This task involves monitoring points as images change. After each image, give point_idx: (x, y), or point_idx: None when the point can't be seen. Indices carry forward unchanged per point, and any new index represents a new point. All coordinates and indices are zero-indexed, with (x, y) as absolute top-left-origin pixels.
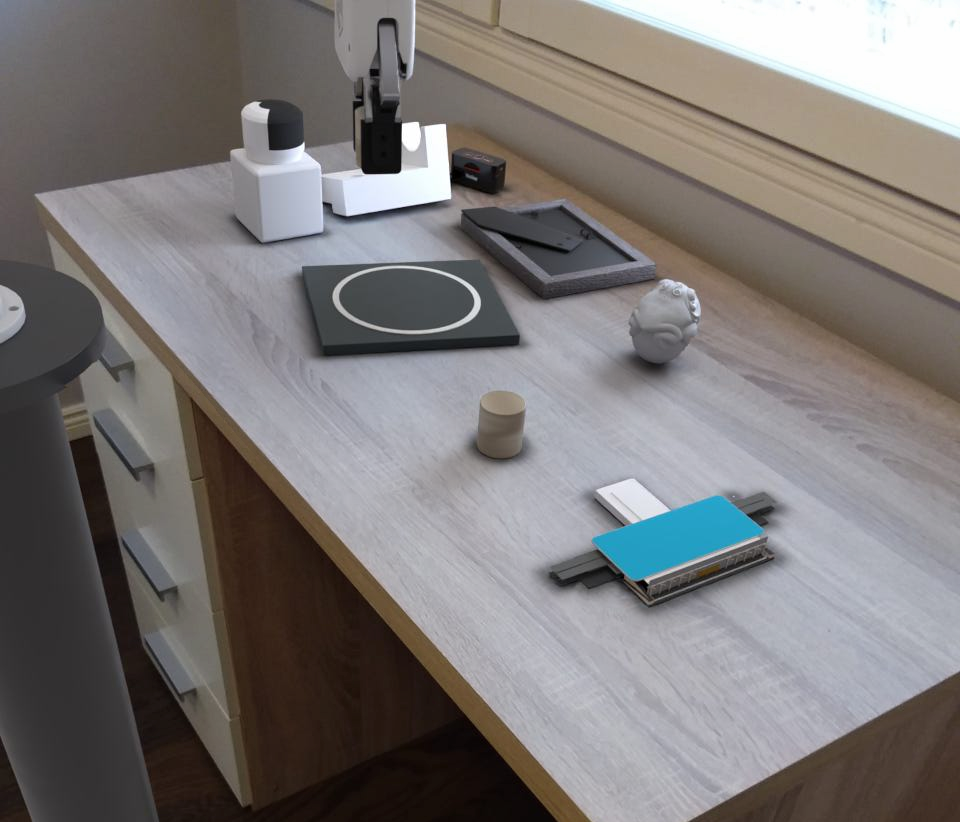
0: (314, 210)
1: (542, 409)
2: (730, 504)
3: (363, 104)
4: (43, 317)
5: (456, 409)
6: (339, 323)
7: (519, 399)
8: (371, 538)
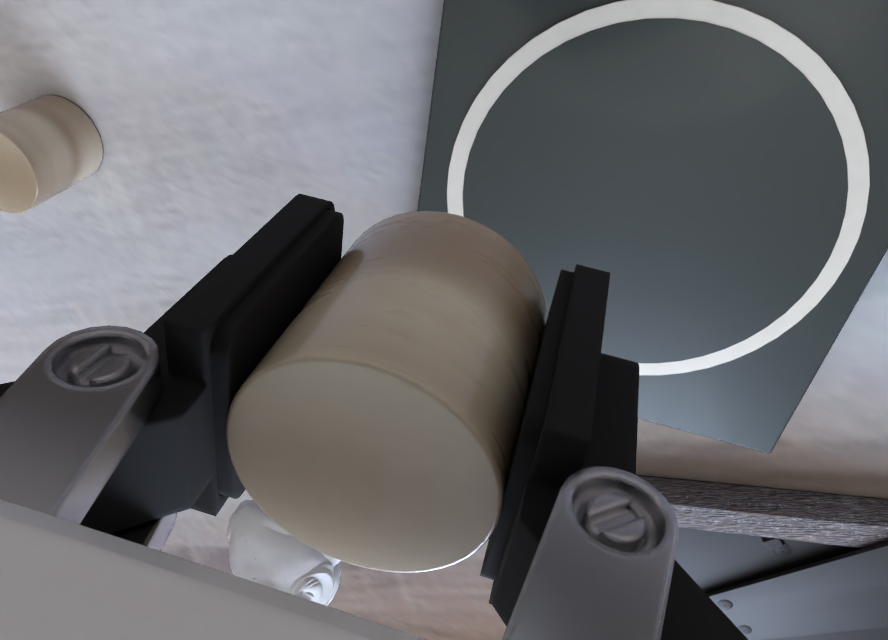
0: None
1: (181, 264)
2: None
3: (533, 473)
4: None
5: (187, 116)
6: None
7: (7, 204)
8: None
